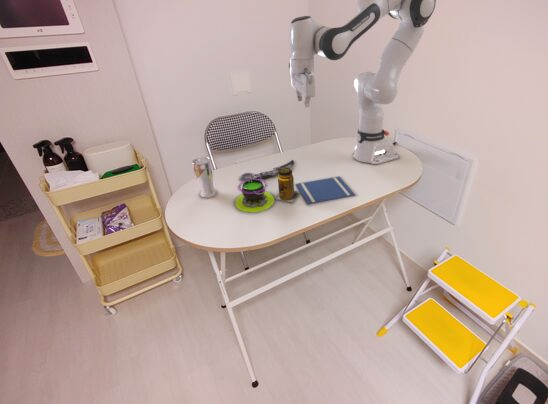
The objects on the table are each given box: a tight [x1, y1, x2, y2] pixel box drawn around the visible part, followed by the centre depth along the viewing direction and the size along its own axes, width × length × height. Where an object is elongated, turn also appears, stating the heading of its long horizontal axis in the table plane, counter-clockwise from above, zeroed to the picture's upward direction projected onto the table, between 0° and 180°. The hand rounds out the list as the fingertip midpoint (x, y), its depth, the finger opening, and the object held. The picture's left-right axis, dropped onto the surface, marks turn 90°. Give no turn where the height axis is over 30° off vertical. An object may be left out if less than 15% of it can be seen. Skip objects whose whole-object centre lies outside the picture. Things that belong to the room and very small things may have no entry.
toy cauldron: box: [235, 173, 275, 213], centre depth 116 cm, size 15×15×11 cm
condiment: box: [275, 167, 301, 203], centre depth 119 cm, size 7×8×12 cm
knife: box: [240, 159, 295, 181], centre depth 139 cm, size 28×2×10 cm
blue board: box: [295, 176, 356, 205], centre depth 126 cm, size 20×16×1 cm
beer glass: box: [191, 156, 217, 199], centre depth 119 cm, size 7×7×15 cm
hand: (303, 103), depth 122 cm, fingers open, 8 cm apart
